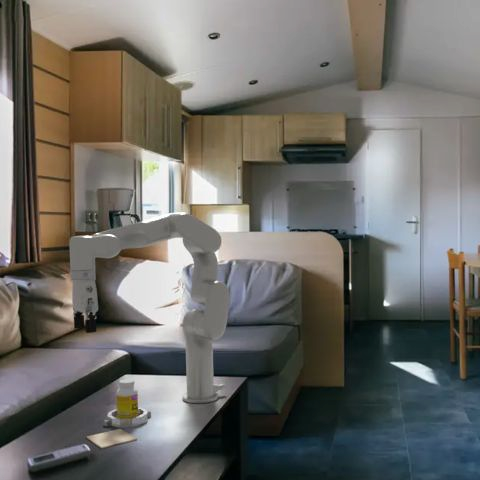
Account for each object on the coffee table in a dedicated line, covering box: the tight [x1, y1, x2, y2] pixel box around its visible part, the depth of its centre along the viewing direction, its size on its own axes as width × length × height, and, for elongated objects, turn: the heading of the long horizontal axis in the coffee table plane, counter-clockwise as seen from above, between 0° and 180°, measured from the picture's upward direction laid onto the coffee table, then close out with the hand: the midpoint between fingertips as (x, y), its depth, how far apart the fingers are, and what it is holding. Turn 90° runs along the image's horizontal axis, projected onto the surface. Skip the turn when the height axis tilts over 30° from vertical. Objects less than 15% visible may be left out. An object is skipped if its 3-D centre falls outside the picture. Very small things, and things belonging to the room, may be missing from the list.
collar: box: [103, 407, 152, 429], centre depth 202 cm, size 15×12×2 cm
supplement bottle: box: [115, 378, 139, 418], centre depth 202 cm, size 7×7×13 cm
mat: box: [85, 428, 138, 449], centre depth 186 cm, size 11×11×1 cm
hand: (85, 330), depth 198 cm, fingers open, 9 cm apart
